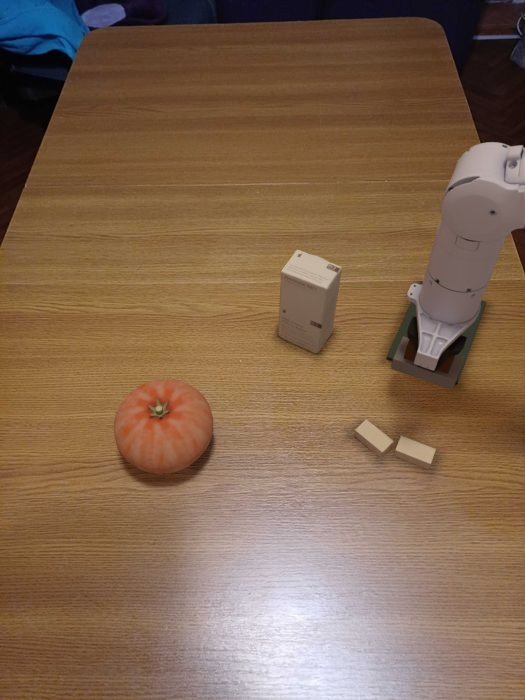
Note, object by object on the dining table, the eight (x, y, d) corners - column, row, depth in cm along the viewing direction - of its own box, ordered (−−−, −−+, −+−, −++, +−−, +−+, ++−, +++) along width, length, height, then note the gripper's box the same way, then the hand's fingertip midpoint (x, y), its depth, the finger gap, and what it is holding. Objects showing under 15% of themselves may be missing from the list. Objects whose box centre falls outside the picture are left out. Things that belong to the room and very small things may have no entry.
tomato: (102, 442, 70) (84, 406, 64) (175, 386, 75) (165, 347, 68) (162, 506, 66) (149, 473, 59) (236, 442, 70) (231, 405, 64)
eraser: (460, 366, 69) (470, 342, 66) (451, 390, 67) (461, 367, 64) (400, 346, 71) (406, 321, 68) (390, 369, 69) (396, 345, 66)
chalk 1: (392, 447, 69) (394, 441, 68) (380, 458, 68) (382, 452, 67) (364, 424, 71) (366, 418, 70) (353, 435, 70) (354, 429, 69)
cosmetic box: (277, 337, 79) (276, 271, 69) (293, 314, 81) (295, 246, 72) (320, 356, 77) (325, 290, 67) (335, 331, 79) (343, 264, 70)
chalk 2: (433, 455, 69) (436, 449, 67) (428, 469, 67) (430, 464, 66) (399, 441, 70) (401, 435, 69) (393, 455, 69) (395, 450, 67)
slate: (485, 304, 81) (486, 301, 81) (457, 384, 74) (458, 382, 74) (419, 283, 84) (420, 280, 83) (385, 359, 76) (386, 356, 76)
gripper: (438, 209, 62) (414, 299, 72) (392, 310, 54) (373, 394, 65) (509, 229, 60) (474, 318, 71) (472, 336, 52) (439, 418, 63)
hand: (430, 356), depth 67 cm, fingers closed on eraser, 2 cm apart
